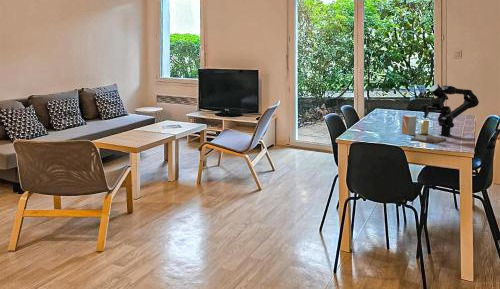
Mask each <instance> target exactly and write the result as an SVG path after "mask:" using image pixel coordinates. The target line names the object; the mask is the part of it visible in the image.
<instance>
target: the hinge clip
mask: <svg viewBox="0 0 500 289" xmlns="http://www.w3.org/2000/svg"><path fill="white" fill-rule="evenodd" d="M415 137H416V139H419V140H425V141H427V140H431V139H432V138H433V137H434V134H432V133H428V135H427V136H424V135H421V132H420V133H415Z"/></svg>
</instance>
